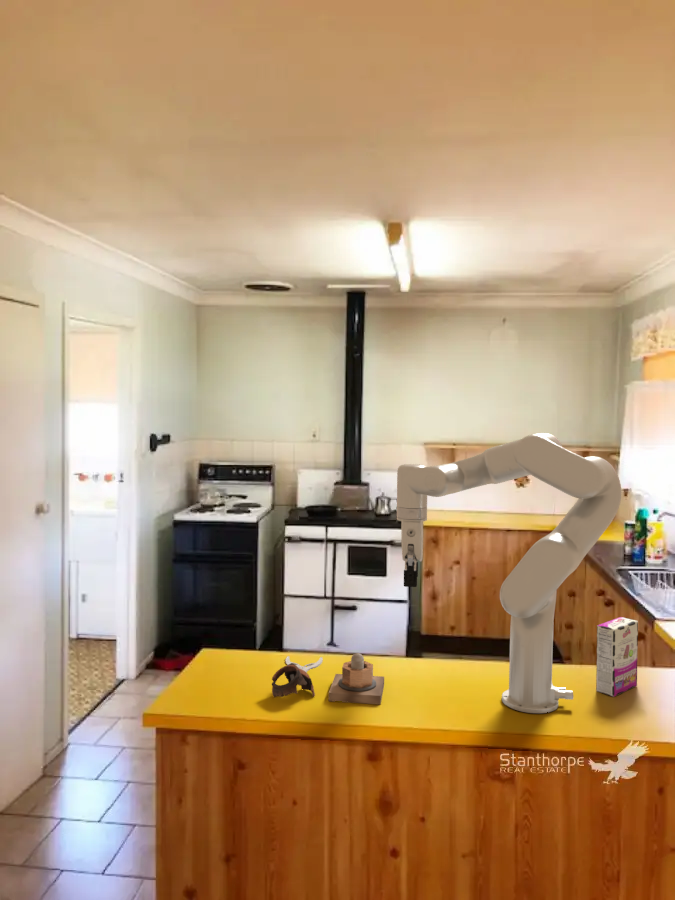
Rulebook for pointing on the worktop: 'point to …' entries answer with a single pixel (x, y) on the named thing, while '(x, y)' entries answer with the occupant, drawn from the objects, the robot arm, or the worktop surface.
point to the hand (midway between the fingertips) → (410, 581)
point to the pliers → (313, 665)
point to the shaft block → (357, 694)
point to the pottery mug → (291, 681)
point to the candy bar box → (617, 656)
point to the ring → (357, 675)
